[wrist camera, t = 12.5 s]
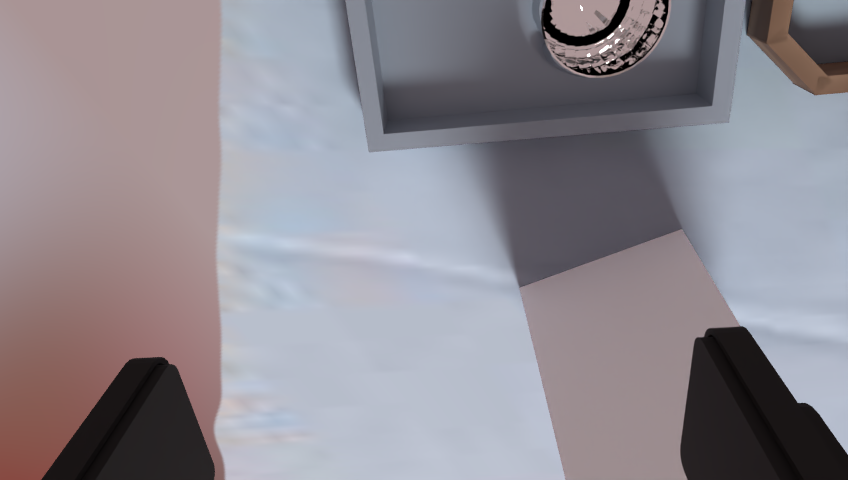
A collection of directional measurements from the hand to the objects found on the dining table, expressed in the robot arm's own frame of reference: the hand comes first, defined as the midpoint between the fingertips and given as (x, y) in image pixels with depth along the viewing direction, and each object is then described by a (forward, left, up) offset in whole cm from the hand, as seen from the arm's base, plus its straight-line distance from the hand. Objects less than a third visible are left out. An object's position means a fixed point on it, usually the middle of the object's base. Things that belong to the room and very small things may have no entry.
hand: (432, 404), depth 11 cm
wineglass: (+4, -6, -28) cm, 28 cm away
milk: (-20, -11, -29) cm, 37 cm away
